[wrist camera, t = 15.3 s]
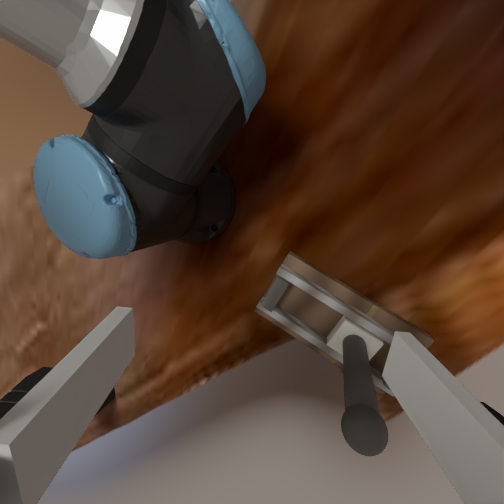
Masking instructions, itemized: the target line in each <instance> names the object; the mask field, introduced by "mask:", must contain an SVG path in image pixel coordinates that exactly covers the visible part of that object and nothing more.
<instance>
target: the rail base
mask: <svg viewBox="0 0 504 504" xmlns="http://www.w3.org/2000/svg"><path fill="white" fill-rule="evenodd" d="M254 311H255V312H257V313H258V314H260V315H261V316H263V317H264V318H266V319H267V320H269V321H270V322H272V323H273V324H275V325H276V326H278V327H279V328H281V329H282V330H284V331H285V332H287V333H289V334H290V335H292V336H293V337H295V338H296V339H298V340H299V341H301V342H302V343H304V344H305V345H307V346H308V347H310V348H311V349H313V350H314V351H316V352H317V353H319V354H320V355H322V356H323V357H325V358H327V359H328V360H329V361H331V362H332V363H334V364H336V365H337V366H339V367H340V368H342V369H343V355H341V354H340V353H338V352H337V351H335V350H334V349H332V348H331V347H329V346H327V345H326V344H327V336H328V335H329V333H330V332H331V331H332V329H333V328H334V327H335V325H336V324H337V323H338V322H339V320H340V319H341V318H342V316H343V315H344V316H346V317H347V318H349V319H350V320H352V321H354V322H355V323H357V324H358V325H360V326H362V327H363V328H365V329H367V330H368V331H370V332H371V333H373V334H375V335H376V336H378V337H379V338H381V339H382V340H383V344H384V345H383V346H382V347H381V348H380V349H379V350H378V351H377V353H376V354H375V355H374V356H373V357H372V358H371V359H370V361H369V363H370V368H371V373H372V378H373V383H374V388H375V391H377V392H378V393H380V394H381V395H384V394H385V392H387V393H388V394H390V395H391V396H394V394H393V392H392V391H391V389H390V388H389V386H388V385H387V383H386V381H385V380H384V378H383V377H382V373H383V370H384V367H385V363H386V360H387V357H388V353H389V350H390V347H391V343H392V340H393V337H394V333H395V331H399V332H410V333H411V334H412V335H413V336H414V337H415V338H416V339H417V340H418V341H419V342H420V343H421V344H422V345H423V346H424V347H425V348H426V349H428V348H429V347H430V346H431V345H432V344H433V343H434V342H435V340H434V339H433V337H432V336H431V335H429V334H428V333H426V332H424V331H423V330H421V329H419V328H418V327H416V326H414V325H413V324H411V323H409V322H408V321H406V320H404V319H403V318H401V317H399V316H398V315H396V314H394V313H392V312H391V311H389V310H387V309H386V308H384V307H382V306H381V305H379V304H377V303H376V302H374V301H372V300H371V299H369V298H367V297H366V296H364V295H362V294H361V293H359V292H357V291H356V290H354V289H352V288H351V287H349V286H347V285H346V284H344V283H342V282H341V281H339V280H337V279H336V278H334V277H332V276H331V275H329V274H327V273H326V272H324V271H322V270H321V269H319V268H317V267H315V266H314V265H312V264H310V263H309V262H307V261H305V260H304V259H302V258H300V257H299V256H297V255H295V254H294V253H292V252H289V253H288V255H287V257H286V258H285V260H284V262H283V264H282V265H281V266H280V267H279V269H278V271H277V273H276V275H275V277H274V279H273V280H272V282H271V284H270V285H269V287H268V289H267V290H266V292H265V294H264V295H263V297H262V298H261V300H260V301H259V303H258V304H257V306H256V309H255V310H254Z"/></svg>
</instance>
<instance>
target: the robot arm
mask: <svg viewBox="0 0 504 504" xmlns="http://www.w3.org/2000/svg"><path fill="white" fill-rule="evenodd" d="M0 37H1V38H3V39H5V40H6V41H8V42H10V43H11V44H13V45H15V46H16V47H18V48H20V49H22V50H23V51H25V52H27V53H28V54H30V55H32V56H34V57H35V58H37V59H39V60H40V61H42V62H44V63H46V64H47V65H49V66H51V67H52V68H54V69H55V71H56V72H57V73H58V75H59V76H60V78H61V79H62V81H63V83H64V85H65V87H66V89H67V91H68V92H69V94H70V96H71V98H72V100H73V102H74V103H75V104H77V105H79V106H80V107H82V108H84V109H85V110H87V111H89V112H91V113H93V115H92V117H91V119H90V121H89V123H88V126H87V127H86V129H85V131H84V133H83V136H82V137H78V136H76V135H64V136H58V137H56V138H55V139H49V140H47V141H46V142H45V143H44V144H43V145H42V146H41V148H40V149H39V151H38V153H37V156H36V159H35V163H34V169H33V181H34V189H35V194H36V198H37V201H38V204H39V206H40V210H41V212H42V215H43V217H44V219H45V221H46V223H47V224H48V226H49V227H50V229H51V230H52V232H53V233H54V234H55V236H56V237H57V238H58V239H59V240H60V241H61V242H62V243H63V244H64V245H65V246H66V247H68V248H69V249H70V250H72V251H73V252H75V253H77V254H79V255H81V256H84V257H87V258H93V259H94V258H97V259H102V258H108V257H114V256H124V255H127V254H128V253H130V252H133V251H137V250H140V249H144V248H147V247H151V246H154V245H158V244H161V243H165V242H168V241H171V240H176V241H180V242H184V243H189V244H197V243H203V242H206V241H209V240H211V239H214V238H216V237H217V236H219V235H220V234H221V233H222V232H223V231H224V230H225V229H226V228H227V226H228V225H229V223H230V221H231V219H232V217H233V213H234V209H235V191H234V187H233V184H232V181H231V179H230V177H229V175H228V173H227V172H226V170H225V169H224V168H223V166H222V165H221V164H220V163H218V162H217V160H218V158H219V157H220V155H221V154H222V153H223V151H224V150H225V148H226V147H227V146H228V144H229V143H230V141H231V140H232V139H233V137H234V136H235V134H236V133H237V132H238V130H239V129H240V127H241V126H242V125H244V124H246V123H247V121H248V118H249V114H250V113H251V111H252V110H253V108H254V107H255V105H256V104H257V102H258V100H259V99H260V97H261V96H262V94H263V92H264V89H265V82H266V70H265V66H264V62H263V60H262V57H261V54H260V52H259V50H258V48H257V46H256V44H255V42H254V40H253V38H252V36H251V34H250V33H249V31H248V29H247V28H246V26H245V24H244V23H243V21H242V20H241V18H240V16H239V15H238V13H237V12H236V10H235V9H234V7H233V6H232V4H231V3H230V2H229V0H0ZM134 355H135V349H134V324H133V308H128V307H116V308H115V309H114V310H113V311H112V312H111V313H110V314H109V315H108V316H107V317H106V318H105V319H104V320H103V321H102V322H101V323H100V324H99V325H98V326H96V327H95V328H94V329H93V330H92V331H91V332H90V333H89V334H88V335H87V336H86V337H85V338H84V339H83V340H82V341H81V342H80V343H79V344H78V345H77V346H76V347H75V348H74V349H73V350H72V351H71V352H70V353H69V354H67V355H66V356H65V357H64V358H63V359H62V360H61V361H60V362H59V363H58V364H57V365H56V366H55V367H54V368H50V367H43V368H41V369H39V370H37V371H36V372H34V373H32V374H30V375H29V376H27V377H25V378H24V379H23V380H22V381H21V382H20V383H19V384H18V385H16V386H15V387H14V388H13V389H12V391H11V392H9V393H7V394H6V395H5V396H4V397H3V398H2V399H1V400H0V504H37V503H38V501H39V500H40V498H41V497H42V495H43V494H44V492H45V491H46V489H47V488H48V486H49V484H50V483H51V482H52V480H53V478H54V477H55V476H56V474H57V472H58V471H59V469H60V468H61V466H62V465H63V463H64V462H65V460H66V459H67V457H68V456H69V454H70V453H71V451H72V450H73V448H74V447H75V445H76V444H77V442H78V441H79V439H80V437H81V436H82V434H83V433H84V431H85V430H86V428H87V427H88V425H89V424H90V422H91V421H92V419H93V418H94V416H95V415H96V413H97V412H98V410H99V409H100V407H101V406H102V404H103V403H104V401H105V399H106V398H107V396H108V395H109V393H110V392H111V390H112V389H113V387H114V386H115V384H116V383H117V381H118V380H119V378H120V377H121V375H122V374H123V372H124V371H125V369H126V368H127V366H128V364H129V363H130V361H131V360H132V358H133V357H134ZM382 377H383V378H384V380H385V381H386V383H387V385H388V386H389V388H390V389H391V391H392V392H393V394H394V395H395V397H396V399H397V400H398V402H399V403H400V405H401V406H402V408H403V409H404V411H405V412H406V414H407V416H408V417H409V418H410V420H411V422H412V423H413V425H414V426H415V428H416V430H417V431H418V433H419V434H420V436H421V437H422V439H423V440H424V442H425V443H426V445H427V447H428V448H429V450H430V451H431V452H432V454H433V456H434V457H435V459H436V460H437V462H438V464H439V465H440V467H441V468H442V470H443V471H444V473H445V474H446V476H447V478H448V479H449V481H450V482H451V484H452V485H453V487H454V488H455V490H456V492H457V493H458V494H459V496H460V498H461V499H462V501H463V502H464V504H504V417H503V416H502V415H501V414H500V413H498V412H497V411H495V410H494V409H492V408H491V407H490V406H488V405H487V404H485V403H484V402H479V401H478V400H477V399H476V398H475V397H474V396H473V395H472V394H471V393H470V392H469V391H468V390H467V389H466V388H465V387H464V386H463V385H462V384H461V383H460V382H459V381H458V380H457V379H456V378H455V377H454V376H453V375H452V374H451V373H450V372H449V371H448V370H447V369H446V368H445V367H444V366H443V365H442V364H441V363H440V362H439V361H438V360H437V359H436V358H435V357H434V356H433V355H432V354H431V353H430V352H429V351H428V350H427V349H426V348H425V347H424V346H423V345H422V344H421V343H420V342H419V341H418V340H417V339H416V338H415V337H414V336H413V335H412V334H411V333H410V332H399V331H395V333H394V337H393V340H392V343H391V347H390V350H389V353H388V357H387V360H386V363H385V367H384V370H383V373H382Z"/></svg>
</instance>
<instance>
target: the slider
mask: <svg viewBox="0 0 504 504" xmlns="http://www.w3.org/2000/svg"><path fill="white" fill-rule="evenodd" d="M326 345H327V346H329V347H331V348H332V349H334V350H335V351H337V352H338V353H340V354H341V355H343V370H344V396H345V412H344V414H343V416H342V420H341V428H342V433H343V435H344V438H345V440H346V441H347V443H348V444H349V446H350V447H351V448H352V449H353V450H355V451H356V452H358V453H359V454H362V455H365V456H375V455H378V454H380V453H381V452H382V451H383V450H384V449H385V447H386V445H387V442H388V430H387V426H386V424H385V422H384V420H383V418H382V417H381V415H380V414H379V408H378V403H377V398H376V393H375V388H374V383H373V378H372V373H371V368H370V363H369V361H370V359H371V358H372V357H373V356H374V355H375V354H376V353H377V351H378V350H379V349H380V348H381V347H382V346H383V345H384V344H383V340H382V339H381V338H379V337H378V336H376V335H375V334H373V333H371V332H370V331H368V330H367V329H365V328H363V327H362V326H360V325H358V324H357V323H355V322H354V321H352V320H350V319H349V318H347V317H346V316H344V315H343V316H342V318H341V319H340V320H339V322H338V323H337V324H336V325H335V327H334V328H333V329H332V331H331V332H330V333H329V335H328V336H327V344H326Z"/></svg>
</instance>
